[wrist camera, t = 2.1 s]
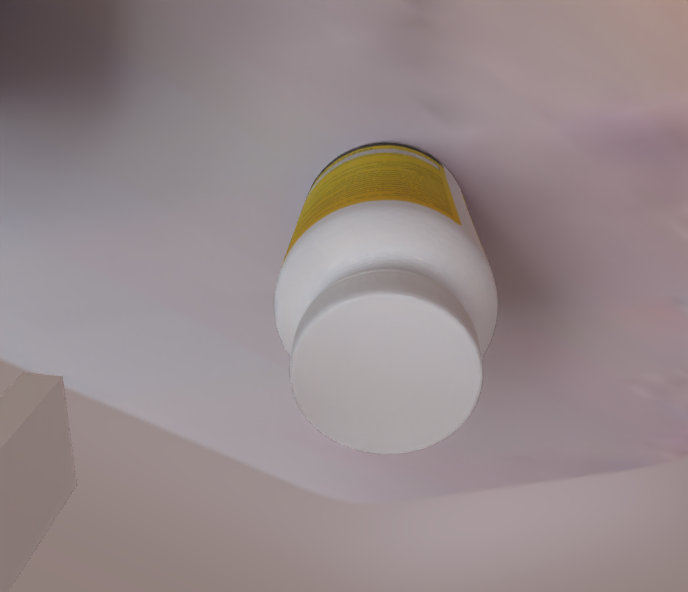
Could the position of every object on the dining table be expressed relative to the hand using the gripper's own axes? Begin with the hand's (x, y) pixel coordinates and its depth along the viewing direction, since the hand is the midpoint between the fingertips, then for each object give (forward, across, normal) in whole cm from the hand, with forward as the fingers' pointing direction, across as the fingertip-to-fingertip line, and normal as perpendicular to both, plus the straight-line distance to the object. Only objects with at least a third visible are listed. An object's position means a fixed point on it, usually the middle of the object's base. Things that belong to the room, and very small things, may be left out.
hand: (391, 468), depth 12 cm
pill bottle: (+15, 0, 0) cm, 15 cm away
